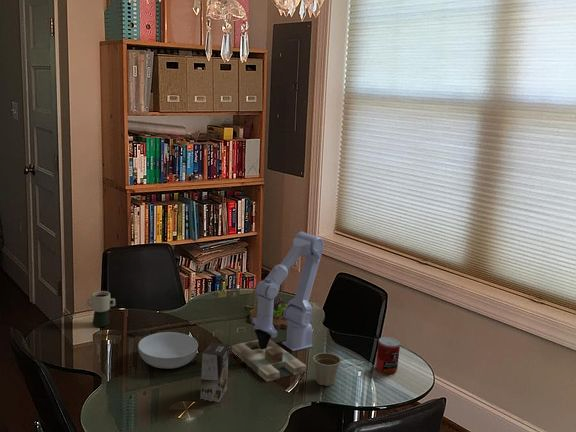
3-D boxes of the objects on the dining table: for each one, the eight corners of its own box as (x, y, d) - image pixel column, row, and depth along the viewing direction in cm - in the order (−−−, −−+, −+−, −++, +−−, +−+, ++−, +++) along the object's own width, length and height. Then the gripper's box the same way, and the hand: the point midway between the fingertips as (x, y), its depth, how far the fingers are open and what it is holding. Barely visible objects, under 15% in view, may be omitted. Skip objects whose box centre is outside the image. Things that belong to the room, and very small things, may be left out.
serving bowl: (125, 367, 226) (126, 349, 224) (157, 345, 245) (158, 327, 243) (179, 381, 219) (179, 362, 217) (207, 356, 238) (208, 339, 237)
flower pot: (330, 391, 219) (332, 367, 217) (306, 383, 223) (308, 359, 221) (343, 381, 226) (345, 358, 224) (320, 373, 231) (321, 350, 229)
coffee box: (219, 403, 207) (221, 355, 203) (199, 399, 208) (201, 352, 204) (227, 389, 215) (229, 344, 212) (208, 386, 216) (210, 341, 213)
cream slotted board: (267, 343, 252) (267, 337, 251) (305, 372, 231) (306, 365, 230) (230, 351, 243) (230, 345, 243) (266, 381, 222) (267, 374, 222)
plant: (258, 308, 288) (260, 284, 286) (301, 315, 283) (303, 291, 281) (242, 324, 270) (244, 298, 267) (288, 332, 265) (290, 306, 262)
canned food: (384, 375, 232) (387, 347, 230) (371, 366, 239) (374, 338, 236) (401, 372, 236) (404, 344, 233) (388, 363, 242) (391, 335, 240)
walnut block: (275, 356, 236) (276, 347, 235) (282, 361, 233) (282, 352, 232) (264, 358, 234) (265, 349, 233) (271, 363, 230) (272, 354, 229)
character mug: (116, 321, 263) (116, 291, 260) (113, 328, 256) (114, 297, 253) (88, 321, 262) (88, 290, 259) (85, 328, 255) (85, 296, 252)
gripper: (245, 308, 240) (243, 342, 243) (266, 322, 228) (263, 358, 231) (262, 305, 243) (260, 339, 247) (283, 319, 232) (280, 354, 235)
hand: (263, 348), depth 239 cm, fingers closed
